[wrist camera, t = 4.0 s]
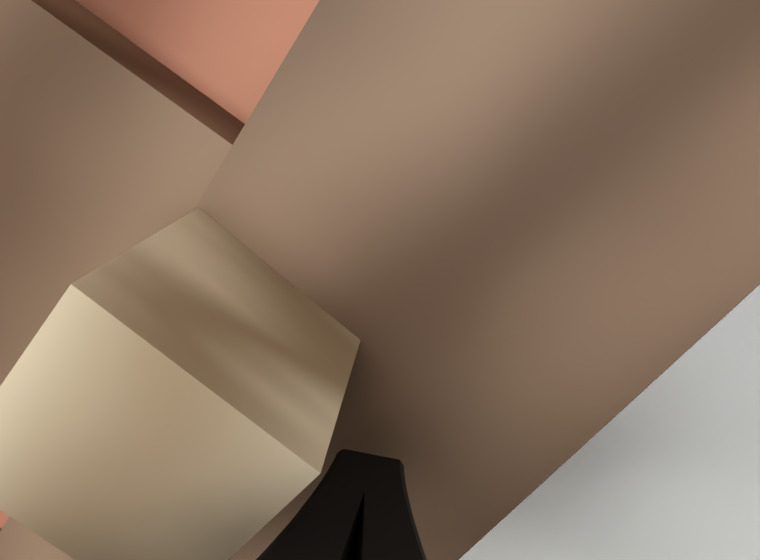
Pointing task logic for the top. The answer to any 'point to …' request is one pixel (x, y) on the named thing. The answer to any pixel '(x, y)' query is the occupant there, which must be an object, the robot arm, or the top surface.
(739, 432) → the top surface
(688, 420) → the top surface
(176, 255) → the maple block
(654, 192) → the trap deck
